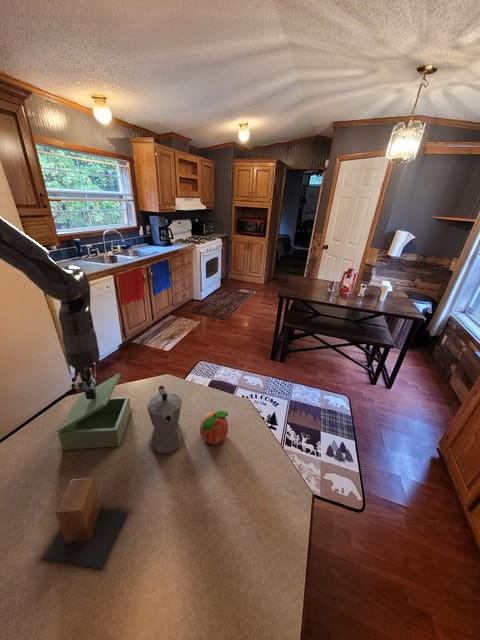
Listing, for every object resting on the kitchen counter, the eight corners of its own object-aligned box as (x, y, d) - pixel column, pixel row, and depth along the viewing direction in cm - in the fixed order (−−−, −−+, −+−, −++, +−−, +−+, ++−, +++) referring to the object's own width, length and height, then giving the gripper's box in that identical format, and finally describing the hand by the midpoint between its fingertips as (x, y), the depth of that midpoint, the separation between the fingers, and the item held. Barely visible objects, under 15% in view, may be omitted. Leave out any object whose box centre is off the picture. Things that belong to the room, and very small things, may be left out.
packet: (100, 507, 58) (93, 477, 54) (89, 540, 52) (80, 510, 48) (79, 509, 57) (71, 479, 53) (65, 543, 51) (55, 512, 47)
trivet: (43, 561, 49) (41, 559, 49) (78, 506, 58) (77, 504, 58) (102, 572, 48) (101, 569, 48) (128, 514, 57) (128, 512, 57)
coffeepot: (187, 456, 72) (187, 406, 65) (153, 466, 68) (148, 415, 61) (177, 417, 85) (176, 373, 78) (147, 425, 81) (143, 378, 74)
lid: (121, 374, 79) (119, 372, 79) (106, 405, 66) (104, 403, 66) (80, 398, 80) (78, 396, 80) (58, 433, 68) (56, 431, 67)
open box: (131, 413, 85) (129, 396, 83) (119, 448, 73) (116, 430, 70) (83, 415, 83) (80, 398, 80) (63, 451, 70) (57, 433, 68)
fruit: (193, 435, 79) (193, 410, 75) (218, 422, 84) (220, 398, 80) (208, 455, 73) (209, 429, 69) (234, 440, 78) (236, 415, 74)
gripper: (76, 333, 71) (86, 383, 78) (51, 358, 59) (66, 415, 66) (105, 333, 73) (112, 383, 79) (86, 358, 61) (97, 413, 67)
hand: (91, 397), depth 73 cm, fingers closed
